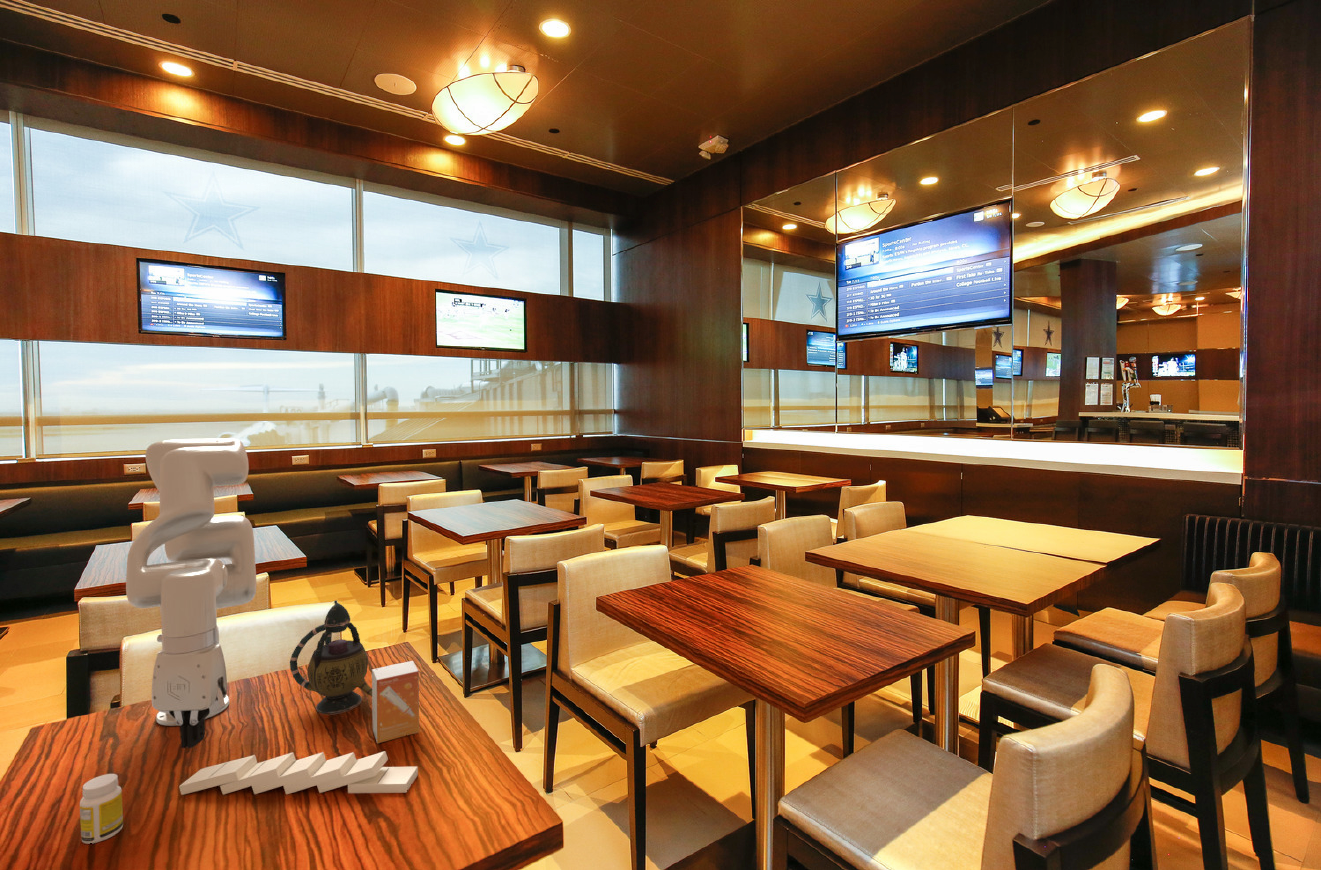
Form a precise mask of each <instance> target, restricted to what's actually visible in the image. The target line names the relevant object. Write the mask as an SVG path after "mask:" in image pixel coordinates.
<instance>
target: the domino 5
mask: <svg viewBox="0 0 1321 870" xmlns="http://www.w3.org/2000/svg"><path fill="white" fill-rule="evenodd" d="M388 760H389V758H388V755H387V752H386V751H381V752H378V753H375V754H372V755H368V756H365V757H363V758H358V759H356V762H355V763H354V764H353V765H352V766H351V767H350V769H349V770H348V771H347V772H346V773H345V774H344V776H343V777H341V778H338V779H335V780H332V781H328V782H325V783H322V784H319V785H316V786H317V789H318V792H319V794H321V793H324V792H327V791H331V790H334V789H337V788H342V787H345V786H348V784H351V783H354V782H358V781H361V780H364V779H367V778H371V777H374V776H376V774H377V773H378V772H379V770H380V769H381V768H382V767H384V765H385V764H386V763H387V761H388Z"/></svg>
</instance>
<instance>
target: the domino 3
mask: <svg viewBox="0 0 1321 870" xmlns="http://www.w3.org/2000/svg"><path fill="white" fill-rule="evenodd" d="M325 761H327V759H326V756H325V753H324V752H323V751H322V752H318V753H315V754H312V755H310V756H307V757H303V758H302V757H301V758H300V759H296V761H295V762H294V763H293V764H292V765H291V766H290V767H289V768H288V769H287V770H286V771H285V772H284V773H283V774H282V775H281V776H279V777H278V778H275V779H272V780H269V781H266V782H262V783H259V784H256V785H253V786H251V789H252V791H253V794H254V795H258V794H260V793H264V792H268V791H270V790H273V789H277V788H280V787H282V786H283V787H284V785H287V784H290V783H293V782H296V781H300V780H303V779H306V778H309V777H311V776H312V775H313V774H314V773H315V772H316V770H317V769H318V768H319V767H320V766H321V765H322V764H323V763H324V762H325Z"/></svg>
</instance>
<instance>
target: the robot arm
mask: <svg viewBox="0 0 1321 870" xmlns="http://www.w3.org/2000/svg"><path fill="white" fill-rule="evenodd" d="M145 462H146V467H147V471H148V473H149V476H150V478H151V480H152V482H153V484H154V486H155V487H156V489H157V491H158V493H159V515H158V516H157V517H156V518H155V519H153V520H152V521H151V522H150V523H149V524H148V525H147V526H145V527H143V529H142V530H141V531H140V533H139V534H138V535H137V536H136V538H135V539H134V541H133V542H132V544H131V545H130V547H129V550H128V554H127V560H126V574H125V575H126V579H125V592H126V598H127V600H128V602H129V604H130V605H132V606H133V607H135V608H137V609H138V608H139V609H150V608H156V607H158V608H159V613H160V619H161V620H160V621H161V622H160V623H161V624H160V625H161V633H160V634H159V635H157V638H156V641H157V642H158V643H161V650H160V651H158V652H157V654H156V658H155V661H154V666H153V672H152V679H151V680H152V681H151V682H152V683H151V706H152V708H153V709H154V710H157V711H158V712H157V713H156V717H155V719H156V723H158V725H161V726H166V727H168V726H169V727H176V726H180V728H179V729H180V747H181V749H186V748H187V749H192V748H194V747H195V746H196V745H198V744H199V743H201V742H202V741H203V740H205V736H206V735H205V734H206V725H205V724H206V722H205V721H206V720H207V719H209V718H212V717H214V716H216V715H219V714H220V713H221V712H223V711H224V710H226V709H227V707H229V705H230V697H229V696H228V695H227V692H228V678H227V668H226V662H225V657H224V652H223V649H222V645H221V643H220V631H219V627H218V624H217V622H218V621H217V619H218V618H217V610H218V609H224V608H229V607H230V608H231V607H235V606H236V607H237V606H241V605H245V604H247V603H250V602H251V601H252V600H253V599H254V598H255V597H256V593H257V570H256V568H257V567H256V550H255V536H254V529H253V526H252V523H251V522H250V521H251V520H249V519H248V518H247V517H246V516H243V515H227V516H226V515H225V516H215V512H216V510H215V492H214V488H215V487H227V486H240V485H242V484H244V483H245V482H246V480H247V479H248V476H249V469H250V468H249V467H250V466H249V458H248V453H247V451H246V448H245V445H244V443H243V442H242V441H241V440H239V439H237V438H183V439H182V438H181V439H180V438H179V439H166V440H160V441H157V442H154V443H151V444H150V445H149V446H148V447H147V448H146V451H145ZM163 545H164V550H165V555H166V558H167V559H168V560H169V561H171V562H164V563H163V562H162V563H155V564H148V560H149V557H150V555H151V554H152V553H153V552H154V551H156V550H157V549H158V548H160V547H162V546H163ZM221 559H222V560H224V559H227V560H229V561H231V563H227V564H226V563H225V564H224V563H223V562H222V561H221Z"/></svg>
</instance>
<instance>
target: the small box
mask: <svg viewBox="0 0 1321 870" xmlns="http://www.w3.org/2000/svg"><path fill="white" fill-rule="evenodd" d="M419 673H420V671H419V669H418V668H417V666H416V664H415V661H414V660H410V661H405V662H400V663H395V664H394V663H393V664H390V665H389V664H388V665H386V666H382V667H377V668H373V669H371V688H372V697H371V700H372V701H371V707H372V708H371V709H372V710H371V711H372V717H371V718H372V732H373V735H374V737H375V740H376V743H377V744H380V743H384V742H388V741H391V740H396V739H399V738H402V737H406V735H407V736H411V735H414V734H418V732H419V733H420V679H419V678H420V677H419V675H420V674H419Z"/></svg>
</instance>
